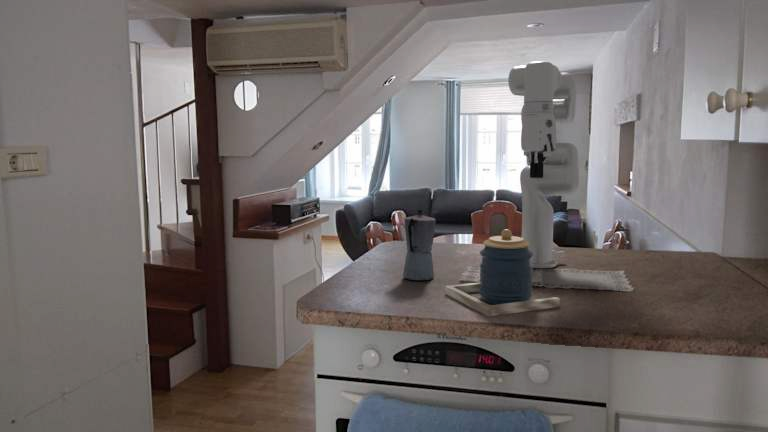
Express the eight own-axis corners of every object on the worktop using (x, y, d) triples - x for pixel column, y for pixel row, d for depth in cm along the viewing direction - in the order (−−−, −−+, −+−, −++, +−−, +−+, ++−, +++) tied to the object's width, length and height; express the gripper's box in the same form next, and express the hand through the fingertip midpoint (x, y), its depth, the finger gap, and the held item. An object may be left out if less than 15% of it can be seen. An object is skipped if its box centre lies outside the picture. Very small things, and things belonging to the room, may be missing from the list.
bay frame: (509, 286, 152) (509, 278, 152) (559, 306, 133) (559, 298, 132) (445, 293, 145) (445, 286, 145) (488, 316, 126) (488, 307, 126)
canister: (469, 295, 143) (469, 227, 141) (511, 289, 148) (512, 224, 146) (498, 309, 131) (499, 235, 129) (543, 302, 136) (545, 231, 134)
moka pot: (441, 273, 167) (441, 207, 165) (428, 286, 153) (428, 213, 150) (410, 271, 170) (410, 206, 168) (394, 283, 156) (394, 212, 153)
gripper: (567, 108, 145) (565, 178, 147) (533, 111, 159) (531, 175, 161) (543, 107, 142) (541, 179, 145) (510, 110, 156) (509, 176, 159)
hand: (536, 177), depth 153 cm, fingers closed
